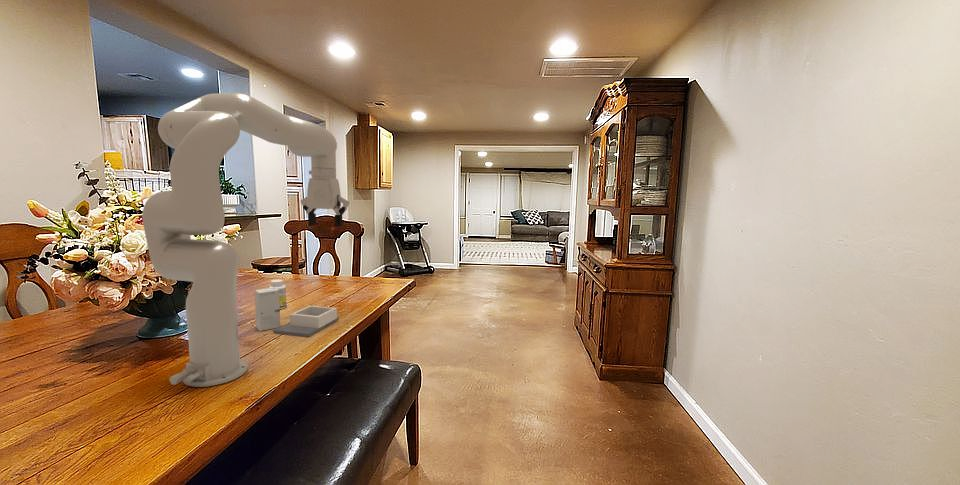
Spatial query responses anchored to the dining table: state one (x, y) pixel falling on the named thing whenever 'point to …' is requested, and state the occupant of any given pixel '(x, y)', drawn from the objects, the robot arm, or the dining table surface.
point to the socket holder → (308, 321)
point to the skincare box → (267, 309)
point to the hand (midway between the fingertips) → (325, 225)
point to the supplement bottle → (280, 291)
